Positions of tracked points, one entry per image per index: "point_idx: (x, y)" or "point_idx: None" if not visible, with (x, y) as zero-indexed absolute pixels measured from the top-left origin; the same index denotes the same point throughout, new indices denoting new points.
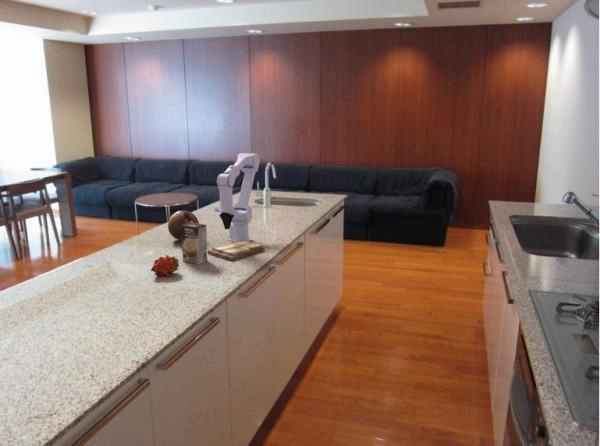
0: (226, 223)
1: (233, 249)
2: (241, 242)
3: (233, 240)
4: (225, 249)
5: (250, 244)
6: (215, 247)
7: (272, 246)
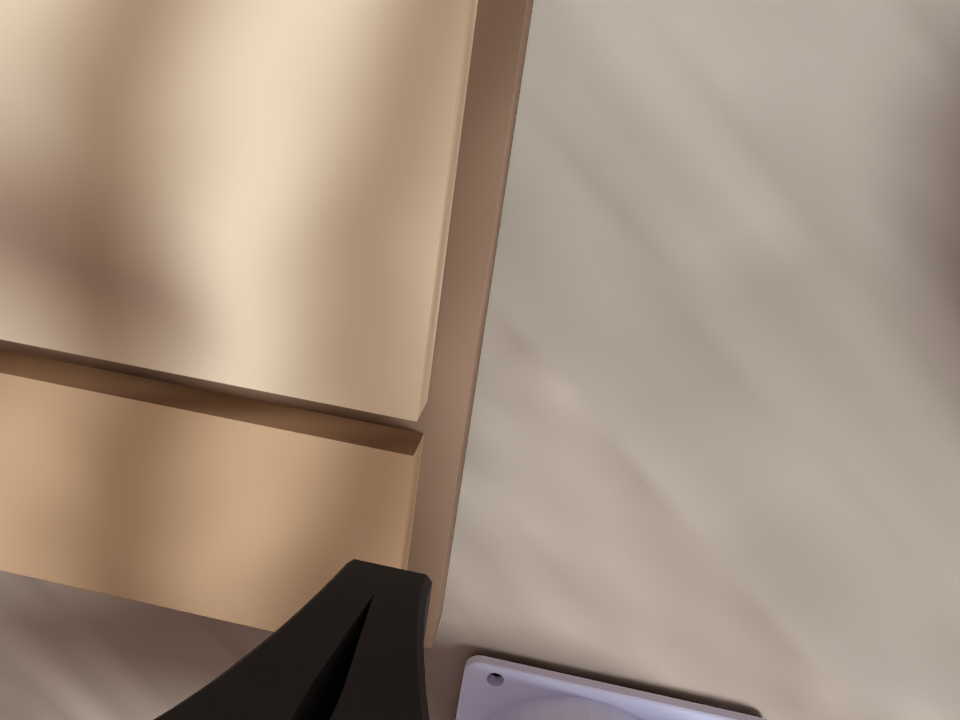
0: (238, 664)
1: (24, 103)
2: (267, 536)
3: (645, 704)
4: (143, 14)
5: (66, 504)
6: (422, 10)
7: (47, 698)
